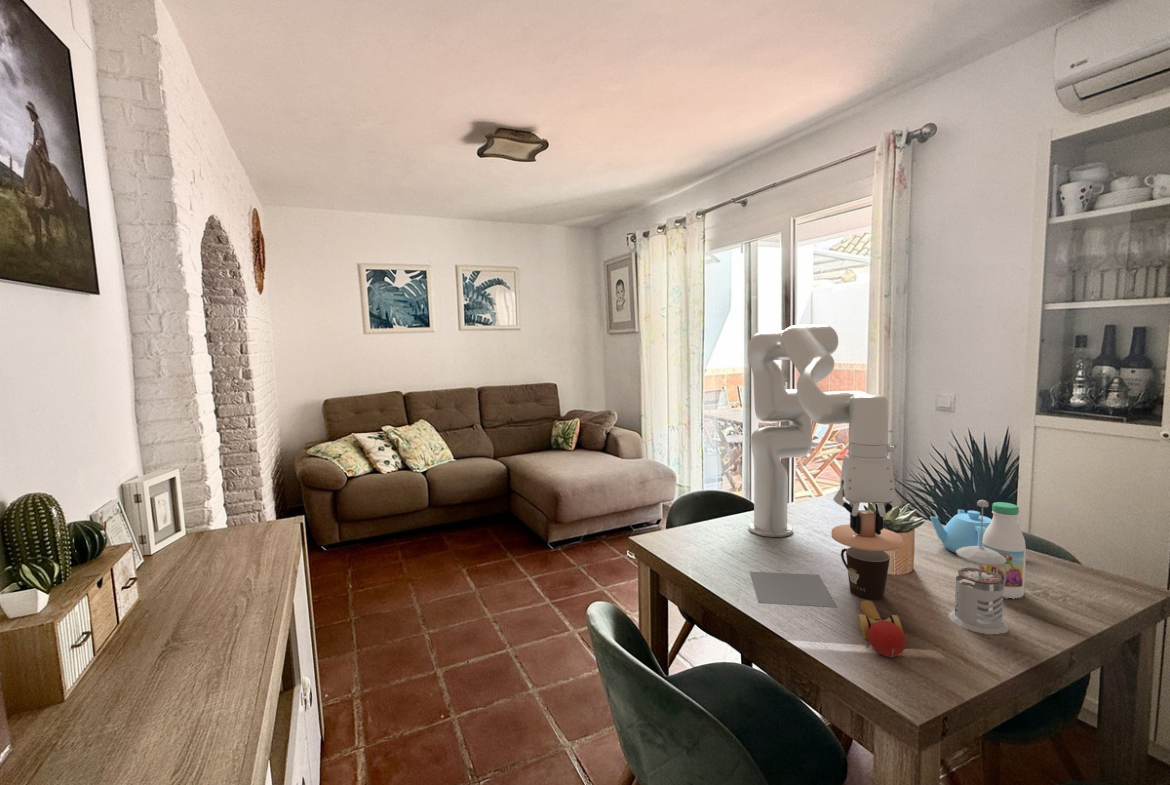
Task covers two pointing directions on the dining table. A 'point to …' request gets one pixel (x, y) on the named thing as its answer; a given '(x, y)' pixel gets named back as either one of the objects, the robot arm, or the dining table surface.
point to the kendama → (881, 630)
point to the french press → (979, 590)
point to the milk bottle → (1007, 548)
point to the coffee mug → (866, 572)
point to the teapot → (962, 530)
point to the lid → (867, 535)
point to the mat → (791, 589)
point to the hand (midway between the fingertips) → (866, 531)
